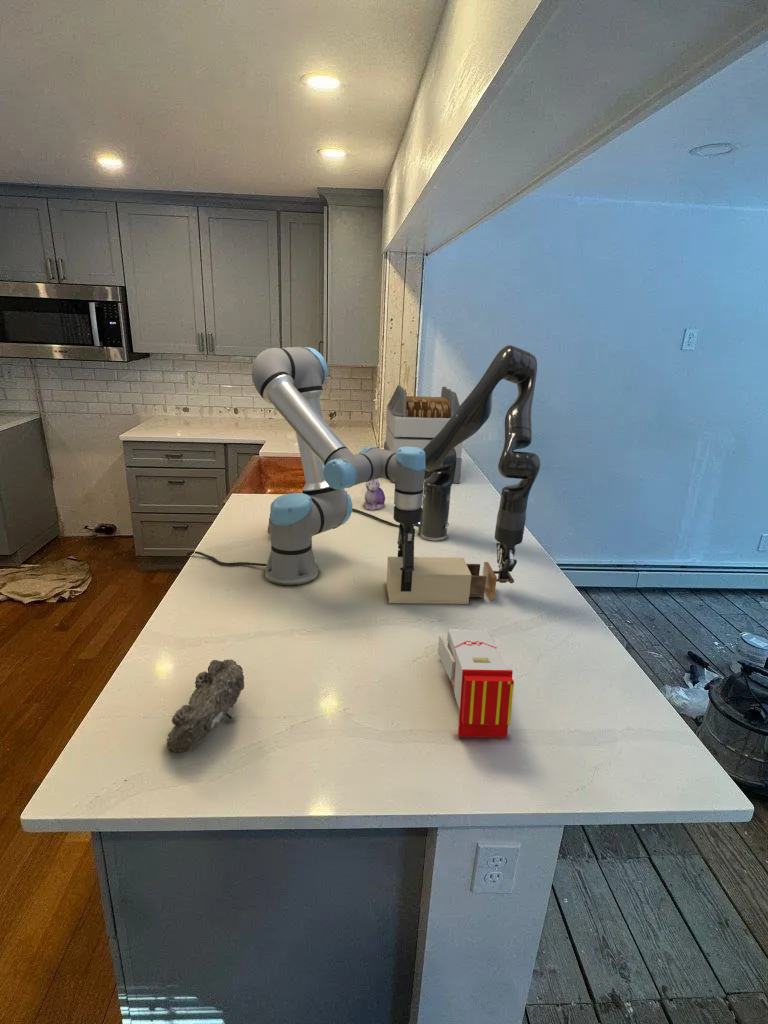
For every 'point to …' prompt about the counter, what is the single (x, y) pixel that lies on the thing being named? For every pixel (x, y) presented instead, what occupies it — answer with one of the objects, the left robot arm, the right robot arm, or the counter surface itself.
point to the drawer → (484, 580)
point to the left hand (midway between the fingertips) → (403, 580)
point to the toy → (478, 682)
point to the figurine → (374, 495)
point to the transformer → (419, 421)
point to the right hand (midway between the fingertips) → (502, 581)
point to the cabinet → (430, 581)
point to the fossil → (206, 705)
